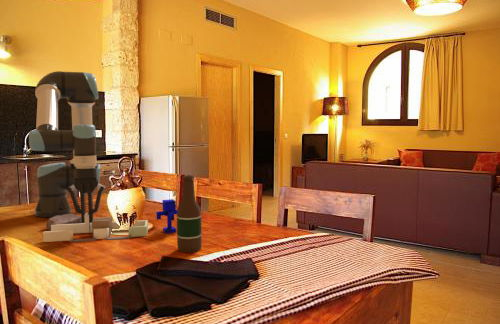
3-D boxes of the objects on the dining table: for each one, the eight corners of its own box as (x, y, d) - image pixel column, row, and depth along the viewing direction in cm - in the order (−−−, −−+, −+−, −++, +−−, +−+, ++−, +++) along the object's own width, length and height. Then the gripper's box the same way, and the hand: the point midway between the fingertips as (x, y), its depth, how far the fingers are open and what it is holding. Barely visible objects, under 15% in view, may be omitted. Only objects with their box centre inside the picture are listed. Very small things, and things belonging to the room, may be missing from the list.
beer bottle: (178, 245, 134) (177, 174, 132) (202, 245, 135) (201, 174, 133) (176, 253, 126) (174, 177, 124) (201, 252, 127) (200, 177, 125)
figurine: (155, 233, 150) (154, 201, 149) (166, 228, 157) (165, 198, 156) (173, 235, 148) (172, 202, 147) (183, 230, 155) (182, 199, 154)
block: (95, 233, 150) (94, 217, 150) (112, 232, 152) (111, 216, 151) (92, 237, 145) (91, 221, 144) (110, 236, 146) (109, 220, 145)
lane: (51, 234, 150) (51, 224, 149) (148, 228, 157) (147, 220, 157) (43, 242, 139) (42, 232, 139) (146, 236, 147) (146, 226, 146)
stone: (58, 232, 153) (57, 220, 153) (44, 230, 158) (43, 218, 157) (85, 225, 163) (84, 214, 163) (70, 223, 168) (70, 212, 167)
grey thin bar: (71, 240, 141) (71, 239, 141) (130, 237, 145) (130, 236, 145) (69, 242, 139) (69, 241, 139) (129, 238, 143) (129, 237, 143)
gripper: (63, 168, 140) (66, 235, 142) (102, 167, 143) (104, 233, 145) (68, 166, 148) (71, 230, 149) (106, 166, 150) (107, 228, 152)
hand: (87, 231), depth 147 cm, fingers closed
